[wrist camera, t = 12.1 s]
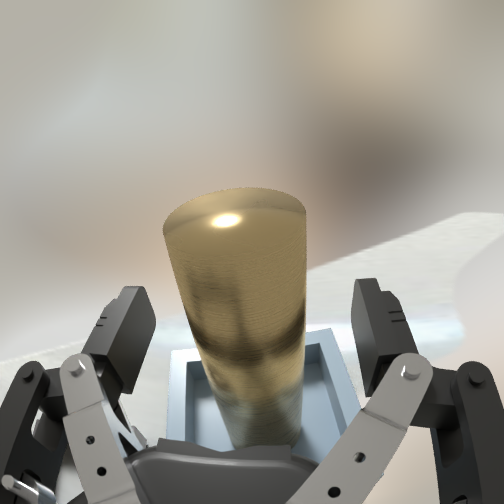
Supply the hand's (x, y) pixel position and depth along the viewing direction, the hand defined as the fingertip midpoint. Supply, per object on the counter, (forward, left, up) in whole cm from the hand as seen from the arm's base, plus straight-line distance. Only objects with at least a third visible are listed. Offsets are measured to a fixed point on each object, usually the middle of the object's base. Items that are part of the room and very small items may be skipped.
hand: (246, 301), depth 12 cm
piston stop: (0, -1, -9) cm, 9 cm away
